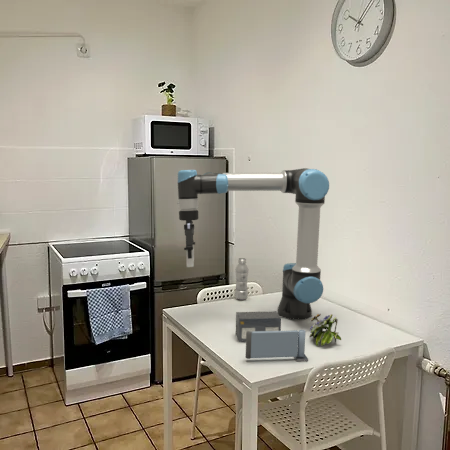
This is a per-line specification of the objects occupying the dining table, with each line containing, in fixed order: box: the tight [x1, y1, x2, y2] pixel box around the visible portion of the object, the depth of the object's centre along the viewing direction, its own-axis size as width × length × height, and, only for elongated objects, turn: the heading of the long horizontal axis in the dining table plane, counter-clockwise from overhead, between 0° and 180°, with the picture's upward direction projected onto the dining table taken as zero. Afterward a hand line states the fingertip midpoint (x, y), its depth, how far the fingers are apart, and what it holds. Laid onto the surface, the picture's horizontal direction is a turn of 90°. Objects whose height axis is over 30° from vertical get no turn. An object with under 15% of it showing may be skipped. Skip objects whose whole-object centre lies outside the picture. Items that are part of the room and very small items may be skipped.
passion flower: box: [308, 313, 342, 347], centre depth 187 cm, size 13×12×14 cm
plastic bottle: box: [234, 257, 249, 301], centre depth 238 cm, size 6×7×20 cm
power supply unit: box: [235, 310, 282, 343], centre depth 189 cm, size 16×9×9 cm, turn 98°
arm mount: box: [293, 353, 309, 362], centre depth 171 cm, size 4×4×1 cm
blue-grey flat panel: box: [245, 329, 307, 360], centre depth 169 cm, size 21×2×9 cm, turn 98°
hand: (190, 263), depth 193 cm, fingers open, 13 cm apart
